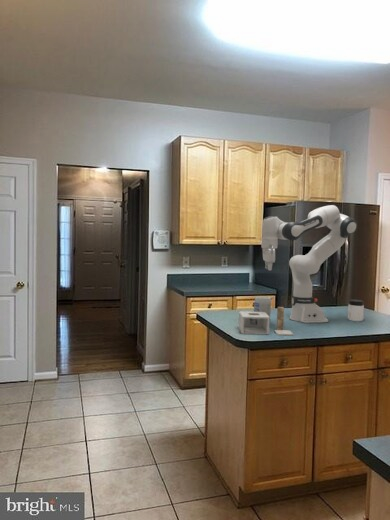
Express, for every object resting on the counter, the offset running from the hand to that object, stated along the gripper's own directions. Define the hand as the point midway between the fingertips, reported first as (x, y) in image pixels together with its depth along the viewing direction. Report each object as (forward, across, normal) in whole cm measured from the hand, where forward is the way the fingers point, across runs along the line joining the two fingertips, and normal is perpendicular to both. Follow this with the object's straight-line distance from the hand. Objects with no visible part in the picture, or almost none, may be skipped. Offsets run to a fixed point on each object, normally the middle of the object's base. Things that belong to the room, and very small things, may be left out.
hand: (268, 269), depth 231 cm
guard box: (+31, -16, +9) cm, 36 cm away
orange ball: (+28, -16, +9) cm, 33 cm away
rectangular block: (+31, -11, -6) cm, 34 cm away
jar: (+31, +20, -58) cm, 69 cm away
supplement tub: (+32, +4, +2) cm, 32 cm away
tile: (+31, -20, -6) cm, 38 cm away
